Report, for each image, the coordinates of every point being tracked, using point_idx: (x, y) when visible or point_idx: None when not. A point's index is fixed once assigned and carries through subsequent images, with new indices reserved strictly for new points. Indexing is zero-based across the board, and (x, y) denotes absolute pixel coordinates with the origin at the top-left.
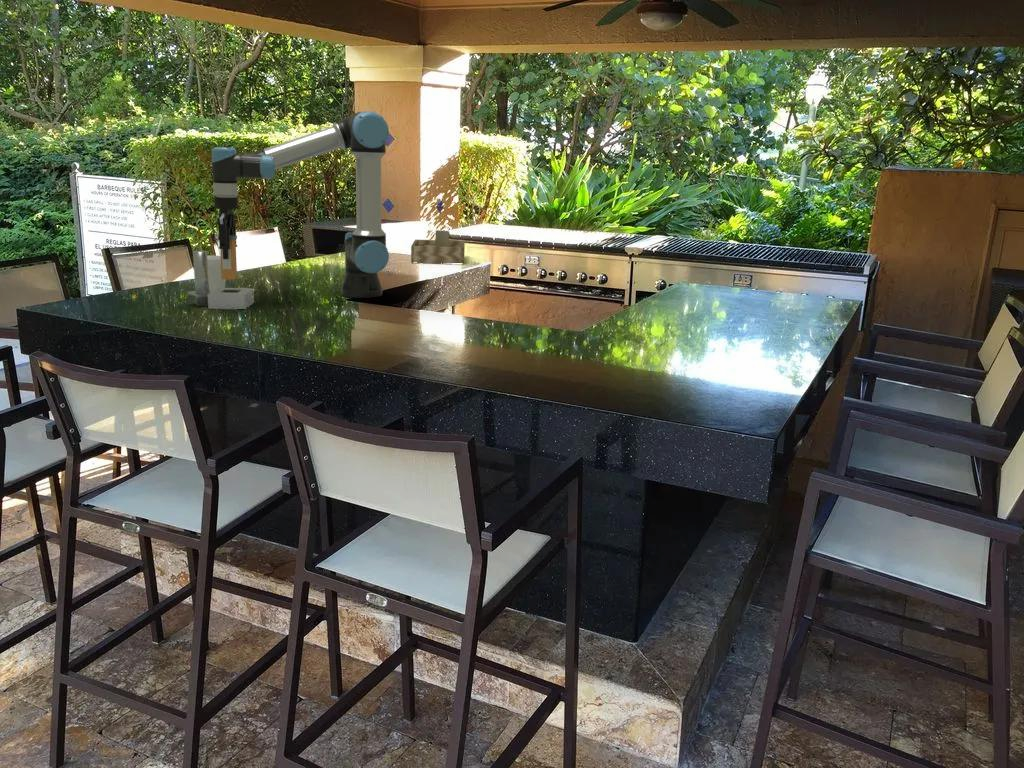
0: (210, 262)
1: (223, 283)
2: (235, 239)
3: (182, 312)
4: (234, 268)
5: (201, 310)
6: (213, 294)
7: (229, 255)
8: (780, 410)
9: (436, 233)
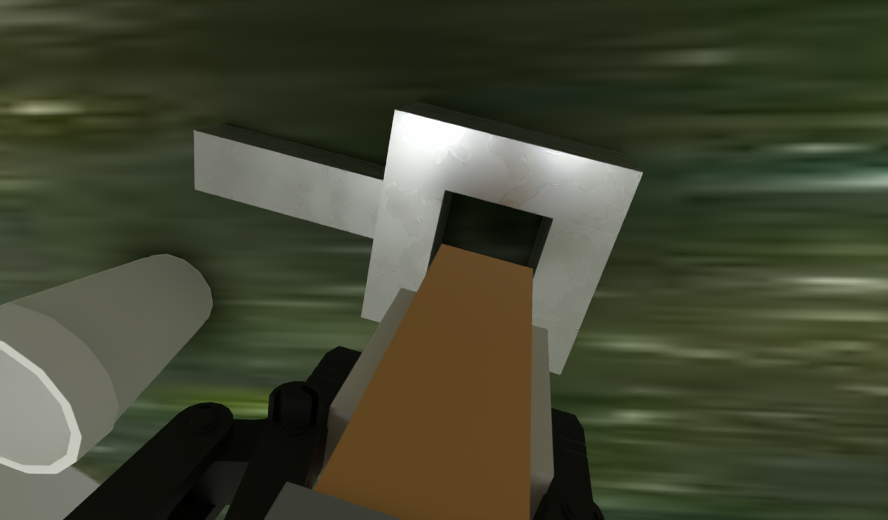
0: (97, 410)
1: (146, 277)
2: (177, 462)
3: (626, 426)
4: (494, 298)
5: (594, 356)
6: (572, 345)
7: (547, 422)
8: None
9: None
